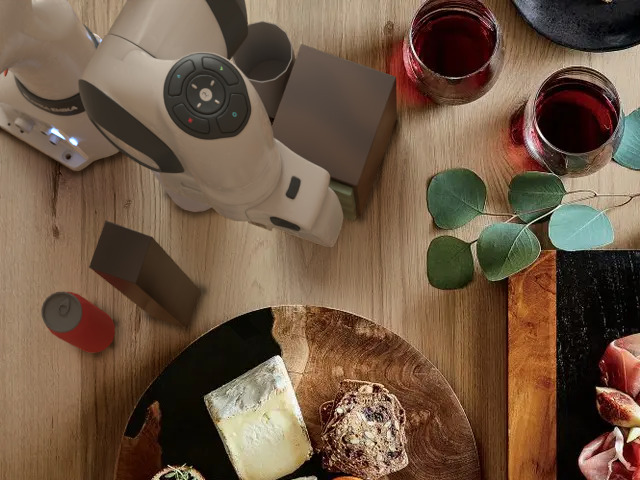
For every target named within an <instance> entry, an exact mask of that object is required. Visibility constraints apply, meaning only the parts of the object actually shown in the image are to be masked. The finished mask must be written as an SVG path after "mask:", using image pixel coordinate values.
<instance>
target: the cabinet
mask: <svg viewBox="0 0 640 480" xmlns="http://www.w3.org/2000/svg"><path fill="white" fill-rule="evenodd" d="M295 59H296V60H295V63H294V66H293V68H292V71H291V74H290V77H289V80H288V82H287V85H286V88H285V91H284V94H283V96H282V99H281V102H280V105H279V108H278V110H277V113H276V116H275V118H273V122H272V123H271V126H272V131H273V137H274V138H275V139H277V140H278V141H280V142H281V143H282V144H284V145H285V146H286V147H287V148H289V149H290V150H291V151H293V152H294V153H296V154H297V155H299V156H301V157H303V158H305V159H306V160H308V161H310V162H312V163H314V164H316V165H317V166H319V167H321V168H323V169H325V170H326V171H327V172H328V173H329V174H330V179H332V180H335V181H338V182H341V183H344V184H346V185H349V186H352V187H353V190H354V197H355V204H356V210H357V216H356V217H359V218H362V217H363V214H364V212H365V208H366V206H367V203H368V200H369V198H370V194H371V192H372V188H373V186H374V183H375V181H376V178H377V175H378V172H379V170H380V167H381V164H382V161H383V158H384V155H385V154H386V150H387V147H388V144H389V142H390V140H391V139H390V138H391V135H392V133H393V130H394V127H395V125H396V122H397V119H398V113H397V112H398V111H397V110H398V109H397V101H398V100H397V77H396V76H395V75H392V74H390V73H387V72H384V71H381V70H378V69H375V68H373V67H369V66H366V65H364V64H360V63H358V62H355V61H353V60H350V59H346V58H343V57H341V56H339V55H335V54H332V53H329V52H326V51H323V50H321V49H317V48H315V47H312V46H309V45H306V44H303V43H301V44H300V46H299V49H298V52H297V54H296V56H295Z"/></svg>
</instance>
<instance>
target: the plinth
mask: <svg viewBox="0 0 640 480" xmlns="http://www.w3.org/2000/svg"><path fill="white" fill-rule="evenodd" d="M97 240H98V241H97V243H96V246H95V249H94V252H93V255H92V257H91V260H90V263H89V266H88V268H89V269H90V270H91V271H93V272H94V273H96V275H97V276H98V277H100V278H102V279H103V280H104V281H105V282H107V283H108V284H109V285H110V286H112V287H113V288H114V289H115V290H117V291H118V292H120V293H121V294H122V295H123V296H124V297H126V298H127V299H128V300H130V301H131V302H132V303H134V304H135V305H136V306H137V307H138V308H140V309H141V310H142V311H143V312H144V313H146V314H147V315H148V316H150V317H152V318H154V319H155V318H156V319H158V320H160V321H164V322H167V323H169V324H172V325H175V326H178V327H181V328H184V329H186V330H188V329H189V327H190V323H191V321H192V318H193V315H194V314H195V313H194V312H195V311H196V307H197V304H198V302H199V299H200V295H201V293H202V290H201V289H200V288H199V287H198V286H197V284H195V283H194V282H193V281H192V279H191V278H190V277H189V276H188V275H187V273H186V272H185V271H184V270H183V269H182V268H181V267H180V266H179V265H178V264H177V263H176V261H175V260H174V259H173V258H172V256H170V254H168V252H167V251H166V250H165V248H163V247H162V246H161V245H160V243H158V241H156V239H155V238H154V237H153V236H151V235H149V234H147V233H143V232H140V231H137V230H134V229H132V228H129V227H126V226H123V225H120V224H118V223H115V222H112V221H109V220H105V221H104V223H103V226H102V229H101V232H100V235H99V238H98V239H97Z"/></svg>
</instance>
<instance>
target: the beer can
mask: <svg viewBox="0 0 640 480" xmlns="http://www.w3.org/2000/svg"><path fill="white" fill-rule="evenodd" d="M40 312H41V319H42V321H43V323H44V324H45V327H46V328H47V329H48V331H49V332H50V333H51V334H52V335H53V336H55V337H56V338H58V339H60V340H62V341H64V342H66V343H67V344H70V345H71V346H73V347H75V348H77V349H79V350H81V351H83V352H87V353H90V354H95V353H100V352H103V351H105V350H106V349H107V348H108V347H110V345H111V344H112V343H113V341H114V338H115V335H116V326H115V323H114V320H113V319H112V317H111V316H110V314H109V313H107V312H105V311H104V310H102V309H101V308H99V307H98V306H97V305H95V304H93V303H92V302H91V301H90V300H88V299H87V298H85V297H83V296H82V295H81V294H79V293H76V292H72V291H56V292H53V293H51V294H50V295H49V296H47V297H46V298H45V300H44V301H43V303H42V306H41V308H40Z"/></svg>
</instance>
